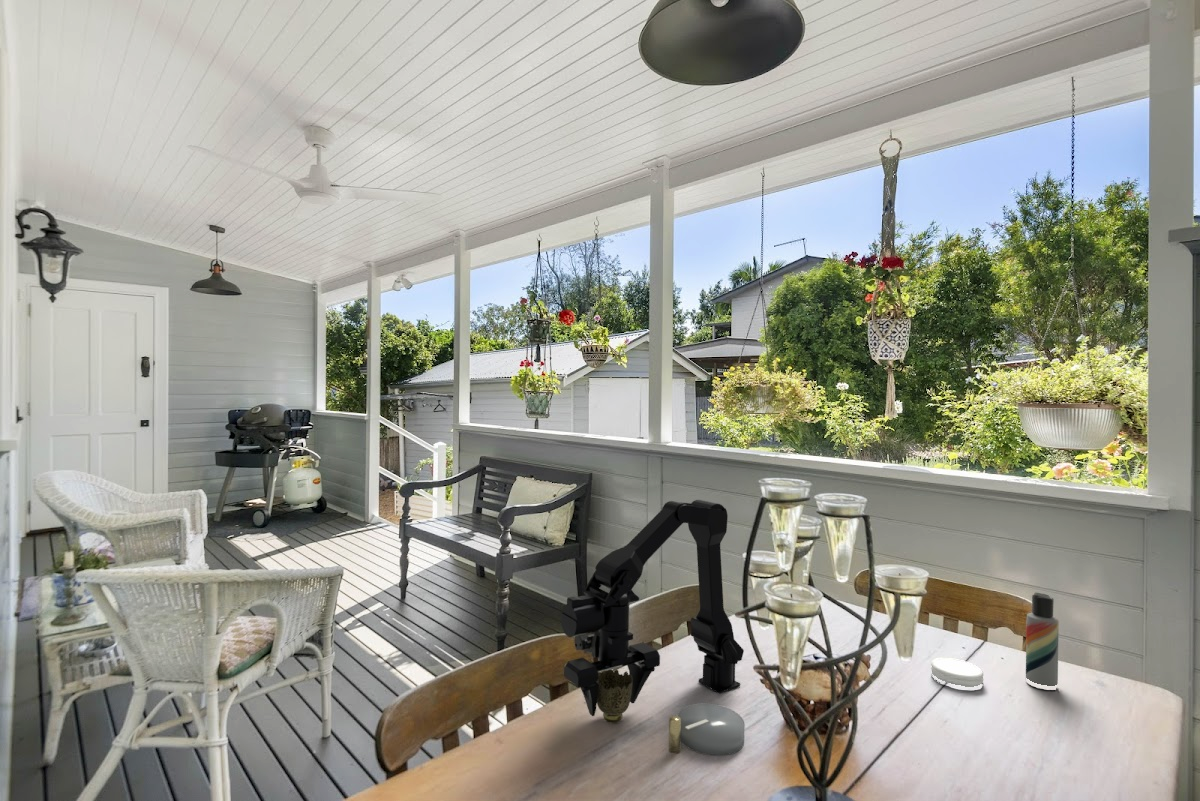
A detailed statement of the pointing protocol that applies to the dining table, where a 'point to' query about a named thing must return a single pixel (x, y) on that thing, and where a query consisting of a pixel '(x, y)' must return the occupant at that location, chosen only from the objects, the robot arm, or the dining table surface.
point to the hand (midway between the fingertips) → (612, 708)
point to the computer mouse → (711, 729)
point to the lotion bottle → (1042, 642)
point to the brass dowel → (674, 734)
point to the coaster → (957, 672)
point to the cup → (614, 694)
